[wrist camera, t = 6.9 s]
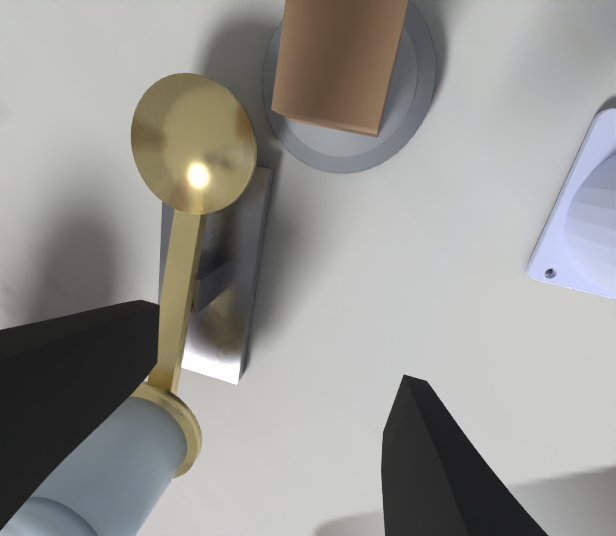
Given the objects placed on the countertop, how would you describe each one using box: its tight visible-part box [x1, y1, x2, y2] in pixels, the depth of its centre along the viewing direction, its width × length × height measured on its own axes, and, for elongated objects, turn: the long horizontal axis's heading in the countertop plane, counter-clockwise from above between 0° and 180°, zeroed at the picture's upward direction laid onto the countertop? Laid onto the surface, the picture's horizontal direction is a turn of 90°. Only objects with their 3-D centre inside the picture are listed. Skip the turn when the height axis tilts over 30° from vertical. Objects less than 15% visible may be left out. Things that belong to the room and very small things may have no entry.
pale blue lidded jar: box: [0, 396, 187, 536], centre depth 15 cm, size 5×5×6 cm
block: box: [271, 0, 408, 137], centre depth 13 cm, size 4×4×4 cm
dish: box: [262, 0, 436, 174], centre depth 15 cm, size 8×8×1 cm
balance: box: [130, 73, 274, 478], centre depth 18 cm, size 21×6×6 cm, turn 169°
